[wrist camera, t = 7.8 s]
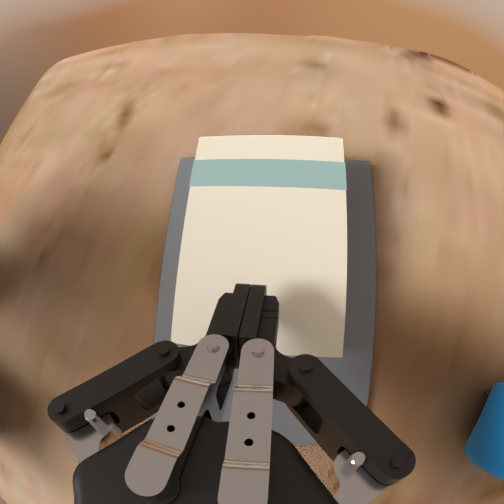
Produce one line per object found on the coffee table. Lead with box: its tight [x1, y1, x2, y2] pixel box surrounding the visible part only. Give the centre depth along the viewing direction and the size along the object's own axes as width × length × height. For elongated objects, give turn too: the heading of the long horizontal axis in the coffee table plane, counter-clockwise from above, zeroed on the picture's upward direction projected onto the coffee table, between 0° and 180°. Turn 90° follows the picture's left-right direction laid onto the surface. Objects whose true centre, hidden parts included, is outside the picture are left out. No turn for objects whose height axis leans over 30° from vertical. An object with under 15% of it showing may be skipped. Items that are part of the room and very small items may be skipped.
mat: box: [151, 157, 376, 444], centre depth 21 cm, size 22×16×1 cm
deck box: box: [171, 135, 347, 357], centre depth 19 cm, size 4×10×14 cm
